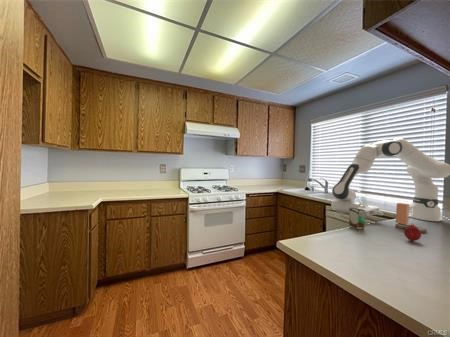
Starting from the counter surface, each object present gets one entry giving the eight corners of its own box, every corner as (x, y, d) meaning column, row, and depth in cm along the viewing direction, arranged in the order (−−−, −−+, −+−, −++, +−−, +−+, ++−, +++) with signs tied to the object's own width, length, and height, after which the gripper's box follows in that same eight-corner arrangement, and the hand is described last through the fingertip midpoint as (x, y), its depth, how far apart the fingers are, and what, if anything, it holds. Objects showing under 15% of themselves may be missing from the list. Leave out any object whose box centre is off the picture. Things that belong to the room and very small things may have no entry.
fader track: (395, 227, 115) (395, 223, 115) (398, 225, 118) (398, 222, 117) (424, 233, 105) (424, 229, 105) (426, 232, 108) (427, 228, 108)
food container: (371, 232, 104) (372, 213, 103) (358, 231, 104) (359, 212, 104) (359, 225, 116) (360, 208, 115) (347, 224, 117) (348, 207, 116)
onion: (424, 244, 89) (425, 226, 89) (409, 242, 90) (410, 225, 90) (414, 239, 95) (415, 222, 95) (400, 238, 96) (401, 221, 96)
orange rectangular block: (395, 224, 115) (396, 203, 115) (398, 223, 117) (399, 202, 117) (405, 226, 111) (406, 204, 111) (408, 225, 114) (409, 204, 113)
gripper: (350, 205, 127) (376, 210, 116) (364, 203, 139) (388, 207, 127) (349, 215, 127) (375, 221, 116) (363, 212, 139) (388, 216, 128)
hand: (382, 213), depth 122 cm, fingers closed
